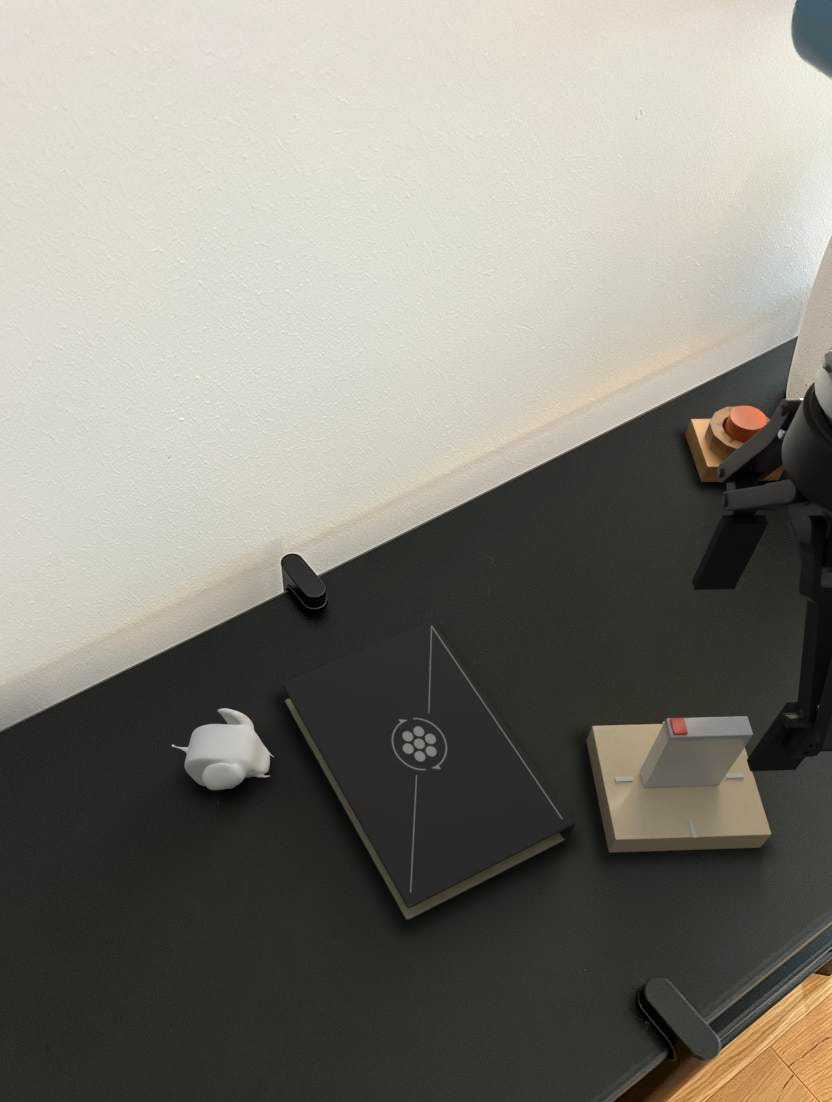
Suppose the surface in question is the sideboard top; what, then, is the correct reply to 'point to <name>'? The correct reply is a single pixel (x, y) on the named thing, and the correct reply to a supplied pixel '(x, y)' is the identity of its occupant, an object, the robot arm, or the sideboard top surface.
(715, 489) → the sideboard top surface
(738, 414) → the button
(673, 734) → the grey rectangular block
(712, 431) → the button block
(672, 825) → the panel
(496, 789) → the book
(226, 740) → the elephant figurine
